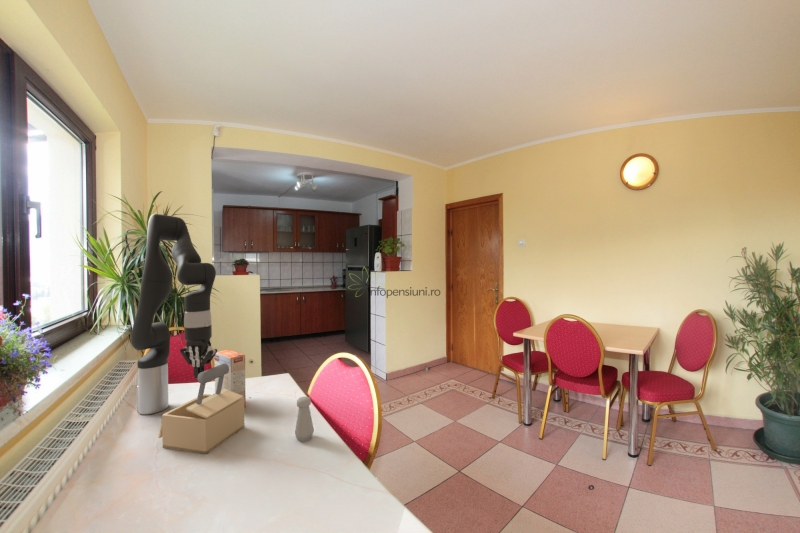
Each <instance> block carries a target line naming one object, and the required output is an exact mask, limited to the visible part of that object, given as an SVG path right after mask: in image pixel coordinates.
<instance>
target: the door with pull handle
mask: <svg viewBox="0 0 800 533" xmlns="http://www.w3.org/2000/svg"><path fill="white" fill-rule="evenodd" d="M228 372H229V366H228V365H227V364H225V363H223V364H221V365H218V366H216V367H215V366H214V367H211V368H209V369H206V370H204V371H203V372H201V373H199V374H198V378H197V381H198V383H199V390H198V394H197V397H198V398H197V397H196V398H197V403H195V404H193V405H191V406H189V407H187V408H186V410H188V411H190V412H192V413H195V414H197V415H199V416H202V417H204V418H206V419H207V418H209V417H211V416H212V415H214V414H216V413H218V412H219V411H221V410H223V409H224V408H226V407H228V406H230V405H231V404H233V403H235V402H236V401H238V400H240V399H241V398H243V396H242V395H239V394H237V393H234V392H232V391H229V390H227V389H222V384H223V379H224V375H225V374H227V373H228ZM218 377H219V380H218V385H217V390H216V393H215V392H214V393H212V394H210V395H211V396H209V397H207V398H205V399H203V395H204V394H205V389H206V384H208V383H209V382H212V381H215V379H216V378H218ZM221 389H222V390H221ZM202 399H203V400H202Z"/></svg>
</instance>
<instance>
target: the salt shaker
mask: <svg viewBox="0 0 800 533" xmlns="http://www.w3.org/2000/svg"><path fill="white" fill-rule="evenodd" d="M311 404H312V401H311V397H309V396H301V397H298V399H296V406H297V407H298V409H297V410H298V412H297V419H296V424H295V430H294V436H295V437H296V439H297V441H298V442H301V443H304V442H308V441H310V440H311V439H312V438H313V434H314V431H315V430H314V424H313V420H312V415H311V410H310V405H311Z"/></svg>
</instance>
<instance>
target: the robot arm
mask: <svg viewBox="0 0 800 533" xmlns="http://www.w3.org/2000/svg"><path fill="white" fill-rule="evenodd" d="M146 234H147V235H146V250H145V259H144V264H143V270H142V274H141V275H142V276H141V282H140V292H139V299H138V304H137V309H136V313H135V314H136V315H135V317H134V321H133V325H132V329H131V335H130V342H131V343H130V344H131V345H132V347H133V348H134V349H135V350H137V351H145V350H148V349H149V350H148V352H146V354H144V355H143V356H142V357H140V358H139V359H138V360H137V386H136V387H135V389H136V390H135V394H136V397H135V398H136V412H137V413H138V414H139V415H151V414H156V413H158V412H162V411H164V410H166V409H167V408H169V405H170V404H169V367H168V365H169V364H168V361H169V360H168V359H169V357H170V351H171V350H170V348H171V331H170V328H169V326H168V324H166V323H165V322H163V321H159V322H158V321H157V322H153V321H154V317H155V315H156V313H157V312H158V310H159V309H160V308H161V306H162V305H163V304H164V302H165V301H166V300H167V298H169V295H170V294H171V291H172V285H173V279H174V278H173V271H172V270H171V268H170V266H169V264H168V263H167V262H166V259H165V258H164V256H163V255H162V251H161V246H160V240H161V241H163V240H164V241H169V242H175V243H174V244H173V245H172V247H171V255H172V256H171V257H172V258H173V260H174V262H175V264H176V267H177V273H176V275H177V280H178V282H179V283H180V284H182V285H184V286H194V285H195V286H196V285H200V287H199V288H198V289H197V290H195V291H192V292H188V293H186V294H185V296H184V317H183V328H184V329H183V331H184V332H183V334H184V335H183V338H184V341H186V343H185V347H182V348H180V349H179V351H180V354H181V355H182V357H183V359H184V360H185V362H186V363H187V364H188V366H189V365H191V366H192V368H193V376H194V378H195V379H198V374H199V373H201V372H203V371H205V366H206V365H208V364H209V365H210V363H211V362H212V360H213V359H214V358H215V354H216V353H217V352H218V348H213V346H212V342H211V338H212V337H213V336H212V335H213V334H212V333H213V332H212V327H213V326H212V314H211V313H212V312H211V295H212V290H213V286H214V282H215V280H216V276H217V274H216V273H217V271H216V268H215V266H214V265H213V264H211V263H210V262H202V258H201V256H200V254H199V253H198V251H197V250H196V248H195V247H194V245H193V242H192V239H191V235H190V232H189V229H188V226H187V223H186V222H185V220H184V219H183V218H181V217H178V216H173V215H168V214H167V215H166V214H160V213H153V214H151V215H150V217H149V219H148V222H147V231H146Z"/></svg>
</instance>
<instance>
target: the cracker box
mask: <svg viewBox="0 0 800 533" xmlns="http://www.w3.org/2000/svg"><path fill="white" fill-rule="evenodd" d="M223 363H225V364H227V365H228V366H229V372H228V373H227V374H225V375H224V379H223V384H222V389H227V390H229V391H232V392H234V393H237V394H239V395H242V396H243V398H244V409H245V408H246V404H247V403H246V402H247V401H246V400H247V399H246V396H247V395H246V354H243V353H240V352H238V351H234V350H231V349H225V350H220V351H217V353H216V354H215V356H214V367H216V366H218V365H221V364H223ZM218 380H219V377H218V378H216V379H214V393H216V390H217V385H218ZM222 389H221V390H222Z"/></svg>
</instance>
